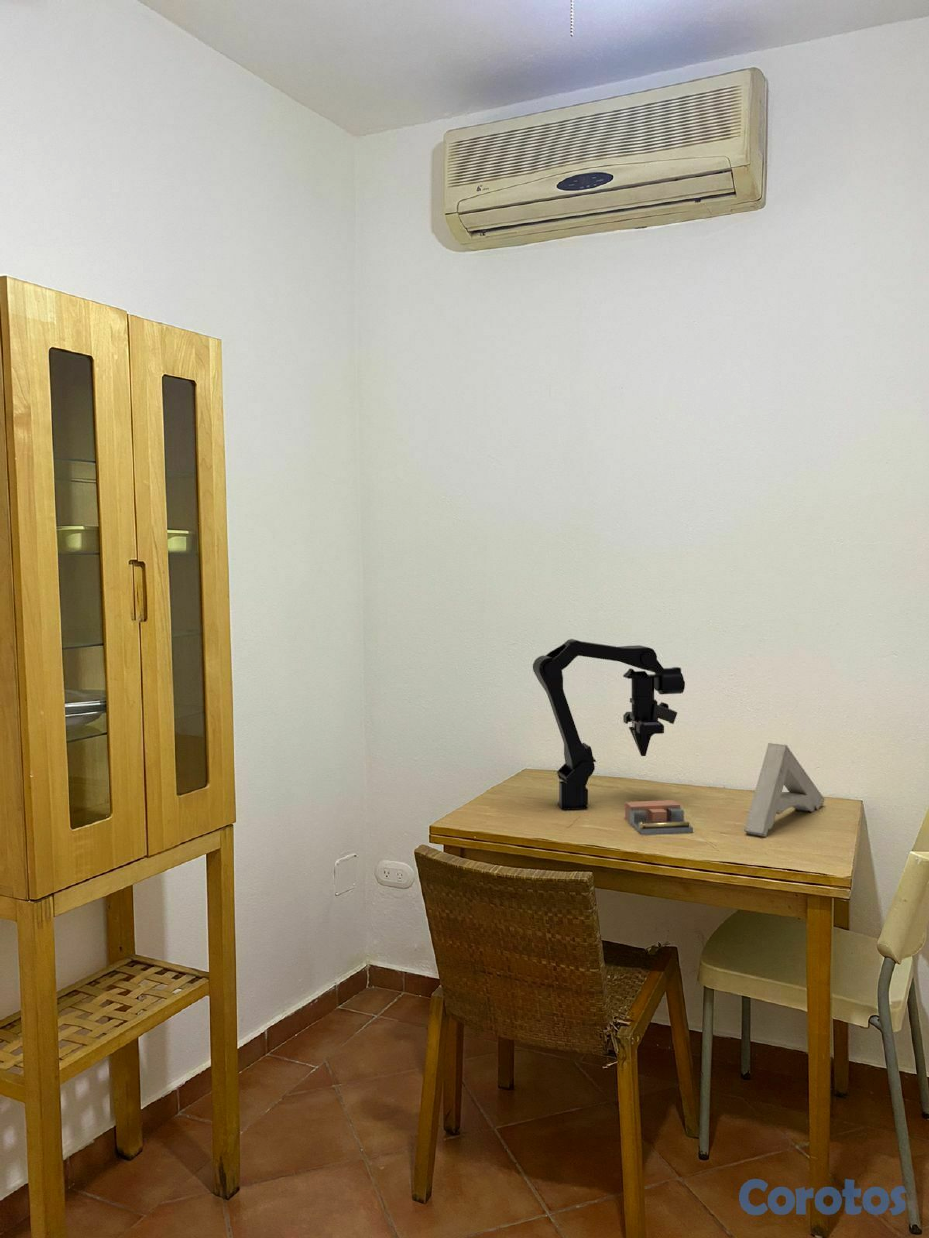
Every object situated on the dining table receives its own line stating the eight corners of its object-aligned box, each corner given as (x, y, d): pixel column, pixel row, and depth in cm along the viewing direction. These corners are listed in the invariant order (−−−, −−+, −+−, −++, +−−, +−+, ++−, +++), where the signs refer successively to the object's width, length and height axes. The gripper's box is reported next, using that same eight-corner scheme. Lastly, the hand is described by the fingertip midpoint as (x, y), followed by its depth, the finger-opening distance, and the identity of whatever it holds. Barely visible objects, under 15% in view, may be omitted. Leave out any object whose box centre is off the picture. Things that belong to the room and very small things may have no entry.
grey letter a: (803, 882, 240) (762, 833, 221) (786, 878, 243) (744, 830, 224) (824, 798, 249) (786, 745, 229) (807, 796, 252) (768, 742, 232)
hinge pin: (640, 829, 225) (640, 823, 225) (638, 828, 227) (638, 821, 226) (689, 828, 226) (689, 821, 226) (687, 826, 228) (687, 819, 228)
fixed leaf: (641, 834, 224) (641, 819, 224) (629, 823, 234) (629, 808, 234) (692, 832, 226) (692, 817, 226) (678, 821, 235) (678, 806, 235)
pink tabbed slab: (634, 826, 231) (634, 809, 231) (625, 818, 239) (625, 801, 239) (684, 824, 233) (684, 807, 233) (673, 816, 241) (673, 800, 240)
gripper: (684, 699, 243) (684, 762, 244) (664, 689, 262) (664, 747, 263) (639, 700, 242) (640, 763, 243) (622, 690, 261) (623, 749, 262)
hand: (643, 755), depth 253 cm, fingers closed
